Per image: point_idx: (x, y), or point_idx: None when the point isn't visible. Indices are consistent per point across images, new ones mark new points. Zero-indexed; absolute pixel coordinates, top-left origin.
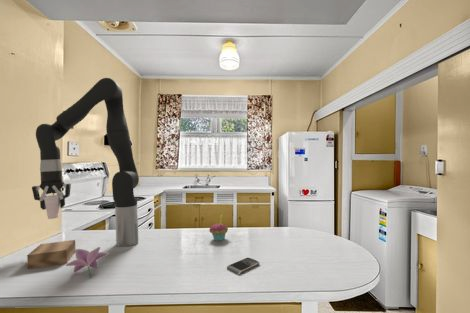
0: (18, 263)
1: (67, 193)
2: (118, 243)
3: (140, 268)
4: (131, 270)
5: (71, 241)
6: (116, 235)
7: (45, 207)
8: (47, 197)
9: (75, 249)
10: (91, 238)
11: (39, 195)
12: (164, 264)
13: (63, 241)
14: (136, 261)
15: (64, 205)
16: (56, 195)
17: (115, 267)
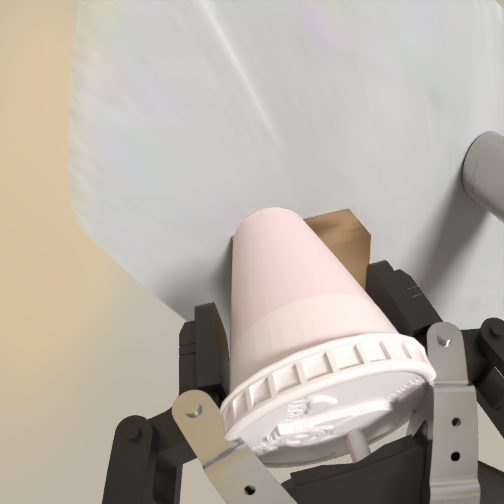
0: (188, 284)
1: (494, 391)
2: (472, 196)
3: (469, 314)
4: (458, 320)
5: (361, 252)
6: (486, 200)
7: (217, 320)
8: (307, 458)
9: (352, 213)
10: (363, 36)
11: (149, 465)
12: (497, 301)
13: (328, 247)
14: (474, 290)
15: (402, 279)
16: (392, 429)
17: (441, 312)
